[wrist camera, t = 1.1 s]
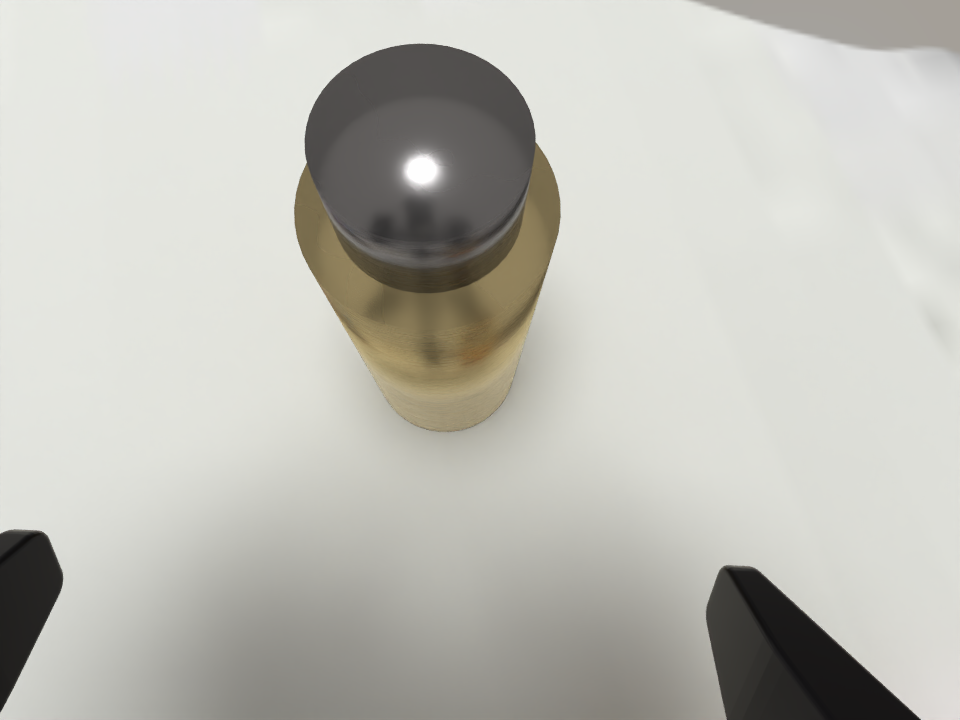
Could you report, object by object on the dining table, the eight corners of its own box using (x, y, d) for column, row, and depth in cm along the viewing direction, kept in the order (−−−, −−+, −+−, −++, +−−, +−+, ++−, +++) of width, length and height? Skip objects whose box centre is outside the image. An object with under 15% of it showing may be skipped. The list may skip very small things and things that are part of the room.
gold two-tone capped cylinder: (540, 385, 22) (643, 184, 9) (422, 458, 21) (358, 347, 8) (467, 276, 23) (471, -34, 10) (352, 342, 22) (204, 91, 10)
